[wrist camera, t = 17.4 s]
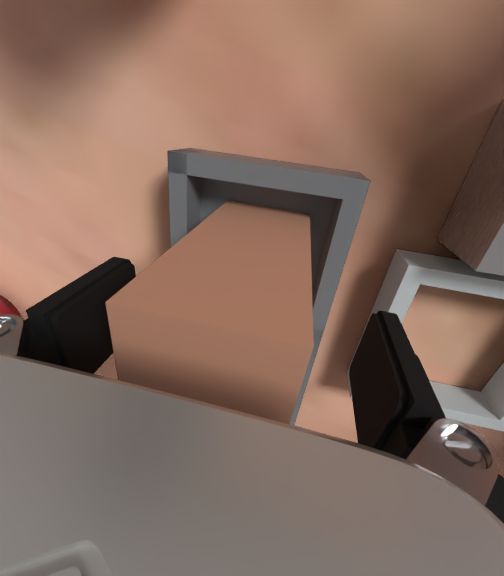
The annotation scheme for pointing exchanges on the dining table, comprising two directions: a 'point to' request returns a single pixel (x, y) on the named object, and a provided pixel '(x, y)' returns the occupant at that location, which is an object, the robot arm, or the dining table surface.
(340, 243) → the grey two-slot rack
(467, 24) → the dining table surface
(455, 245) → the grey square holder
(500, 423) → the light grey square frame
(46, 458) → the robot arm
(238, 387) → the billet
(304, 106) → the dining table surface
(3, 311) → the liquor
